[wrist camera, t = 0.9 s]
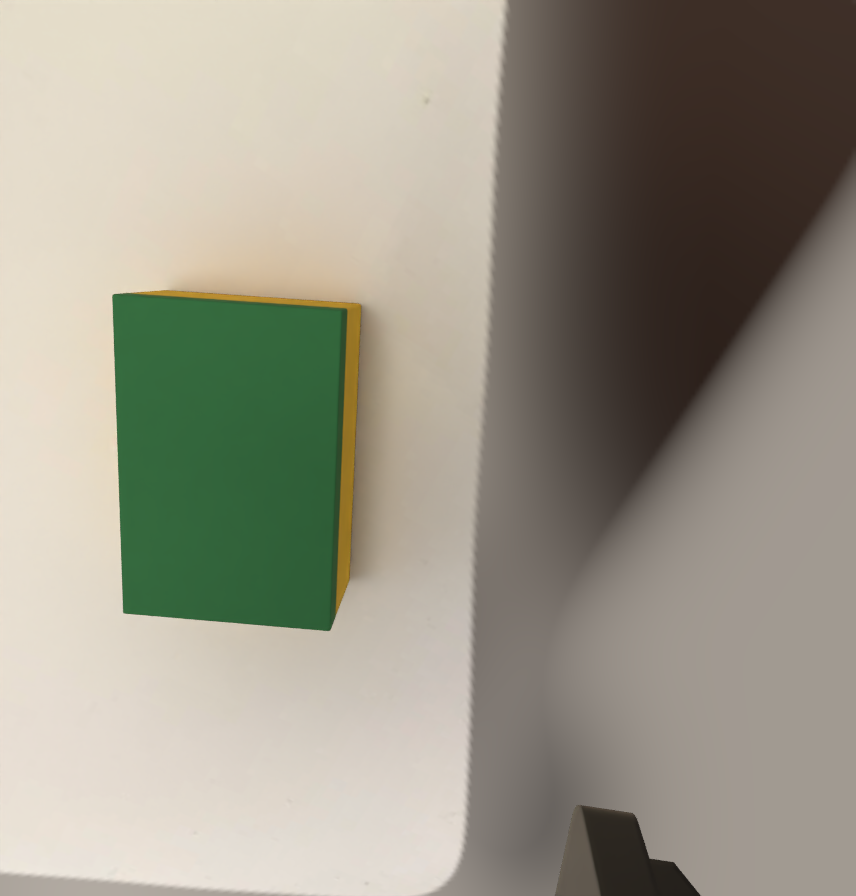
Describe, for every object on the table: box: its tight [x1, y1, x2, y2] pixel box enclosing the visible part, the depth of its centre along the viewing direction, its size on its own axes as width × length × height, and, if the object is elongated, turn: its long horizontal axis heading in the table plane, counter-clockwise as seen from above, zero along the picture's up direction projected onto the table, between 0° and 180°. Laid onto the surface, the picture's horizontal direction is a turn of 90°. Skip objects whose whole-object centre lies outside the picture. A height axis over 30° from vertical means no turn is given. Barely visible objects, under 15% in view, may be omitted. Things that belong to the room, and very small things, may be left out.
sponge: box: [112, 290, 361, 631], centre depth 22 cm, size 6×9×4 cm, turn 176°
